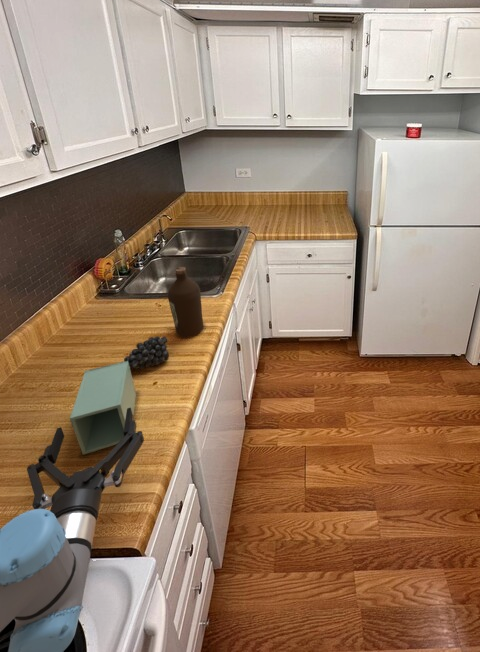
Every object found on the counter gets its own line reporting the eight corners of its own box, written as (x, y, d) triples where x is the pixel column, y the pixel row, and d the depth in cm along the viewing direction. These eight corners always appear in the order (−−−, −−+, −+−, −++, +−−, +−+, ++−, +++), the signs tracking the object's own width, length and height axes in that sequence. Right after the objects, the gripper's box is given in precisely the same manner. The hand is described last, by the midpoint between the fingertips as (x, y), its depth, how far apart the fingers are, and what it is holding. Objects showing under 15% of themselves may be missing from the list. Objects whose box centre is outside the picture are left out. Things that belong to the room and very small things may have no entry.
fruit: (113, 354, 96) (168, 336, 103) (115, 345, 104) (166, 329, 111) (120, 381, 97) (174, 362, 104) (121, 370, 105) (172, 353, 112)
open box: (130, 440, 82) (120, 404, 77) (82, 455, 78) (69, 418, 74) (136, 393, 95) (128, 360, 90) (95, 404, 91) (85, 370, 87)
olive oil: (202, 317, 128) (194, 259, 119) (207, 333, 119) (199, 272, 110) (173, 325, 123) (162, 265, 114) (175, 342, 115) (164, 279, 105)
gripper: (-14, 572, 54) (34, 453, 72) (154, 508, 63) (159, 415, 81) (-31, 546, 51) (23, 428, 70) (147, 482, 60) (153, 392, 78)
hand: (96, 421), depth 75 cm, fingers open, 13 cm apart
